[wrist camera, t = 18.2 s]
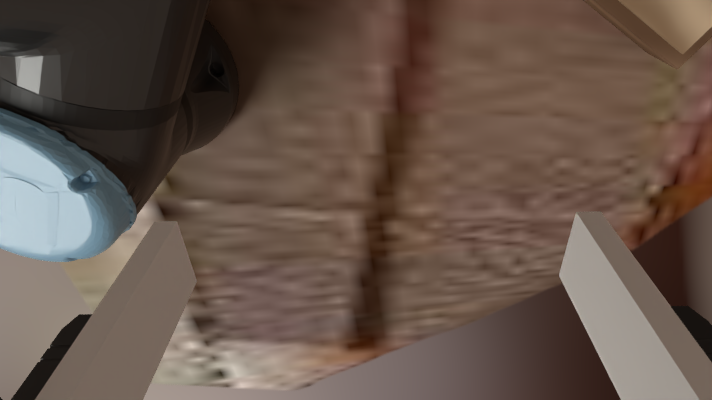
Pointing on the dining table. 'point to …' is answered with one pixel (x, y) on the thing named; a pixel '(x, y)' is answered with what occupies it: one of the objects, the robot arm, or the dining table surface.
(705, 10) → the mug stand
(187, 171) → the dining table surface
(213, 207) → the dining table surface
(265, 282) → the dining table surface
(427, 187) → the dining table surface
